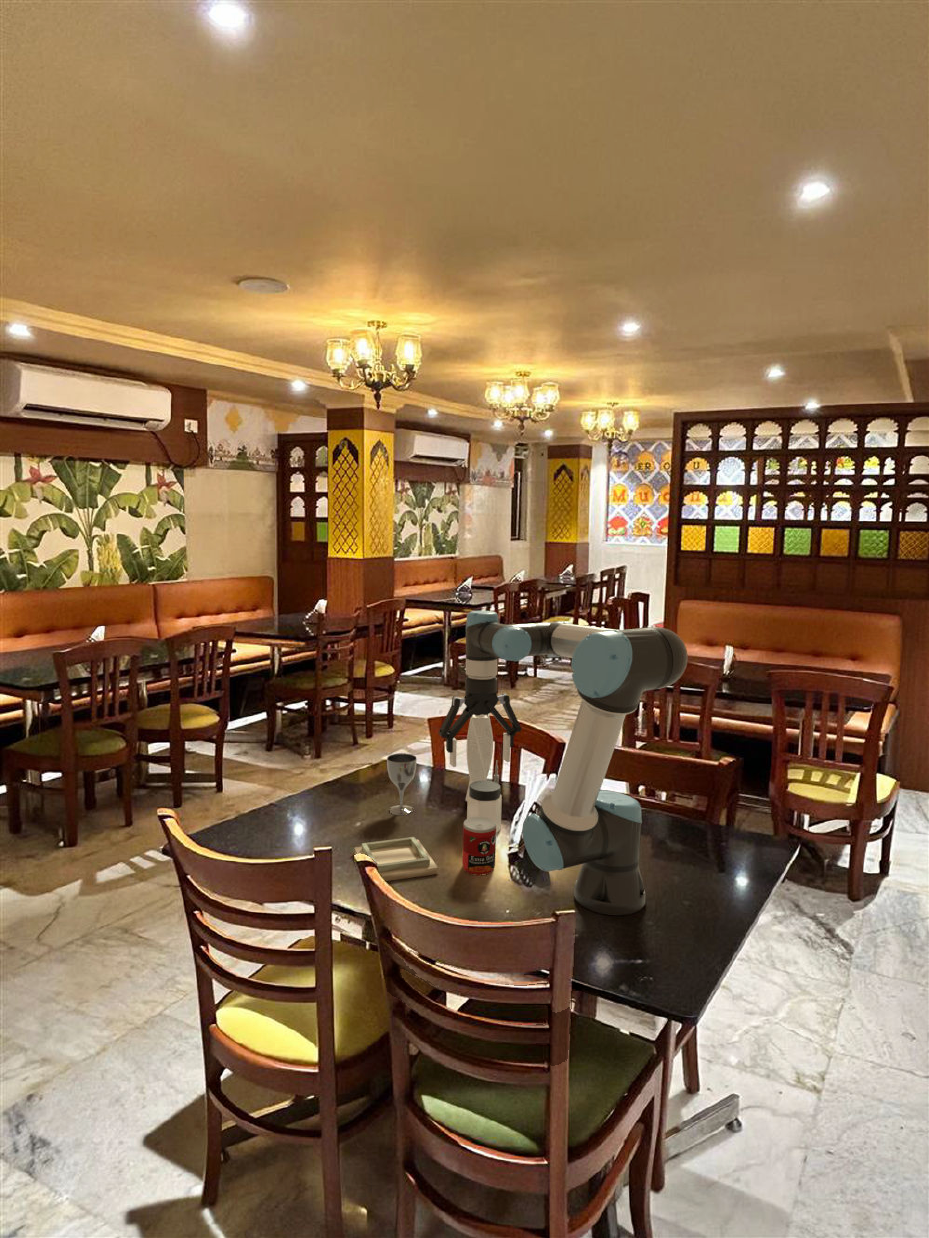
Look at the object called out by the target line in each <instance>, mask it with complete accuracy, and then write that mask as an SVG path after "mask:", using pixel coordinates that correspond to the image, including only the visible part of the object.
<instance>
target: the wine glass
mask: <svg viewBox="0 0 929 1238" xmlns="http://www.w3.org/2000/svg"><path fill="white" fill-rule="evenodd" d="M386 764H387V767H386V768H387V773H388V777H389V779H390V781H391V782H392V783H393V784H394V785H395V787H396V788H397V789H398V792H399V793H398V794H399V805H393V806H391V807H390V808H391V809H390V813H389V814H391V813H392V814H391V815H394V816H407V815H408V814H409V813H410V812H413V810H412V808H413V807H412V806H409V805H403V803H404V799H403V798H404V794H405V793H404V792H405V790H406V788H407V786H408V785H409V784H410V783H412V781H413V779H414V777H415V775H416V771H417V756H416V755H414V754H411V753H406V752H405V753H403V752H401V753H400V752H399V753H392V754H389V755H388V756H387V758H386ZM413 813H414V812H413ZM409 815H410V814H409ZM409 815H408V816H409Z"/></svg>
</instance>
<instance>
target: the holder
mask: <svg viewBox="0 0 929 1238" xmlns="http://www.w3.org/2000/svg"><path fill="white" fill-rule="evenodd" d="M353 852H354V853H353V854H354V855H355V853H356V854H359V853H361V854H365V855H367V856H369V857H371V858H372V859H373V860H374V861H375V862H376V863H377V866H378V871H379V873H380V874H381V875H382V877H383V878H384V879H385V880H386V881H385V882H389V881H395V880H403V879H410V878H415V877H416V878H417V877H418V878H419V877H423V876H432V875H438V874H439V866H438V865H437V864H436V863H435V861H434V859H433V858H432V857H431V856H430V854H429V852H428V851H427V849H425V847H424V845H423V844H422V843H421V841H420V840H419V839H416V837H415V836H409V837H402V838H395V839H387V840H378V841H371V842H370V841H369V842H363V843H361V846H355V847H354V850H353Z"/></svg>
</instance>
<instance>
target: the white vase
mask: <svg viewBox="0 0 929 1238" xmlns="http://www.w3.org/2000/svg"><path fill="white" fill-rule="evenodd" d="M490 715H491V713H489V714H488V715H483V714H482V715H479V716H476V715H474V714H473V716H472V717H471V718H469V723H468V730H467V736H466V763H467V771H468V775H469V782H468V788H467V792H466V796H465V802H468V796H469V785H470V784H471V783H473V782H476V781H488V776H489V773H490V769H491V765H492V759H493V754H494V753H493V752H494V735H493V728H492V724H491V718H490ZM494 769H495V770H494V774H493V782H495V783H498V784H499V779H500V775H499V774H498V773H499V771H498V770H499V766H498V760H497V759H496V760H495V766H494Z"/></svg>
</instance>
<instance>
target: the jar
mask: <svg viewBox="0 0 929 1238" xmlns="http://www.w3.org/2000/svg"><path fill="white" fill-rule="evenodd" d="M468 786H469V796H468V802H467V801H466V802H467V803H466V804H467V809H466V819H469V818H472V817H486V818H489V819H492V820H494V821H495V822H496V835H497V834H498V832H499V831H501V828H502V825H501V824H502V802H503V801H502V800H503V799H502V797H503V796H502V794H501V793H502V788H501V785H500V784H499V782H498V783H495V782H494V781H492V780H491V781H490V780H487V781H476V782H473V783H471V784H470V785H469V784H468Z"/></svg>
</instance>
